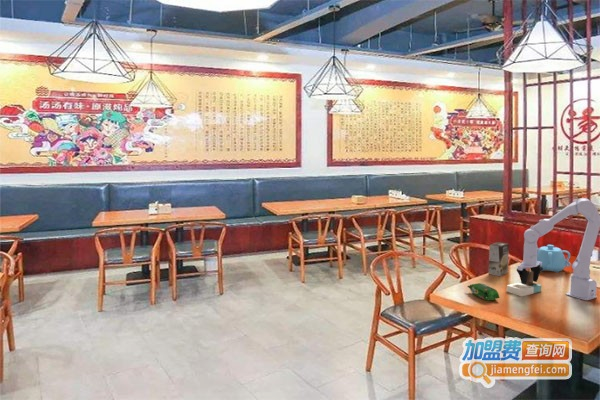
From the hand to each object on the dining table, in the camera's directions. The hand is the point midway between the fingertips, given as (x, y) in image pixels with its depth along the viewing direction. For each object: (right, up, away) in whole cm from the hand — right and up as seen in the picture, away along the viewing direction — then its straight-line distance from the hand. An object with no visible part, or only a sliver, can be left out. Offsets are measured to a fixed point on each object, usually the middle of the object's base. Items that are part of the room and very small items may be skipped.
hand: (529, 282), depth 211 cm
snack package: (-24, -6, -6) cm, 26 cm away
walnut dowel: (0, -4, 0) cm, 4 cm away
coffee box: (-2, 0, +28) cm, 28 cm away
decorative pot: (+27, +1, +32) cm, 42 cm away
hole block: (-3, -4, -1) cm, 5 cm away
